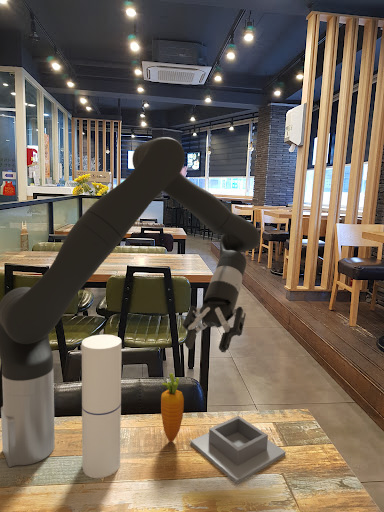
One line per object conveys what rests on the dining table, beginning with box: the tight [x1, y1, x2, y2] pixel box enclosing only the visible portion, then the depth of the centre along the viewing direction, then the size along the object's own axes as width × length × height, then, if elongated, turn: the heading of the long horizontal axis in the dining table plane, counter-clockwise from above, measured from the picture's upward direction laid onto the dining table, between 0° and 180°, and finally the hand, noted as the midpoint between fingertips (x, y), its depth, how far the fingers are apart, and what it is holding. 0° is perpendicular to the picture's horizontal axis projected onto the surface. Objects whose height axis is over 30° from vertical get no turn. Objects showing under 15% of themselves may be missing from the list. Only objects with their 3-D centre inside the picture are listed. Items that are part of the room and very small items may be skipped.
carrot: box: [160, 372, 185, 443], centre depth 78 cm, size 5×5×15 cm
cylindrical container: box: [81, 334, 122, 479], centre depth 70 cm, size 7×7×25 cm
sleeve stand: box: [190, 415, 287, 485], centre depth 77 cm, size 14×14×4 cm
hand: (204, 349), depth 81 cm, fingers open, 8 cm apart
